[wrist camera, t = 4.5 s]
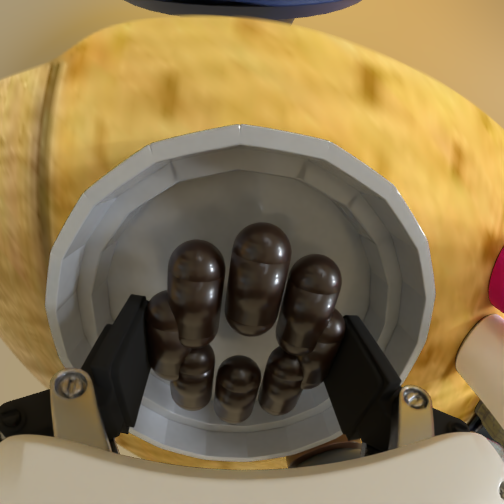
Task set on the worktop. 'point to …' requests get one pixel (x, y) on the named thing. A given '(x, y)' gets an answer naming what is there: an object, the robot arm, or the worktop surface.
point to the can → (485, 363)
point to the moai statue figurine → (490, 423)
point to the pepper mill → (497, 283)
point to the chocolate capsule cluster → (245, 323)
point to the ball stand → (326, 453)
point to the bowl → (222, 236)
